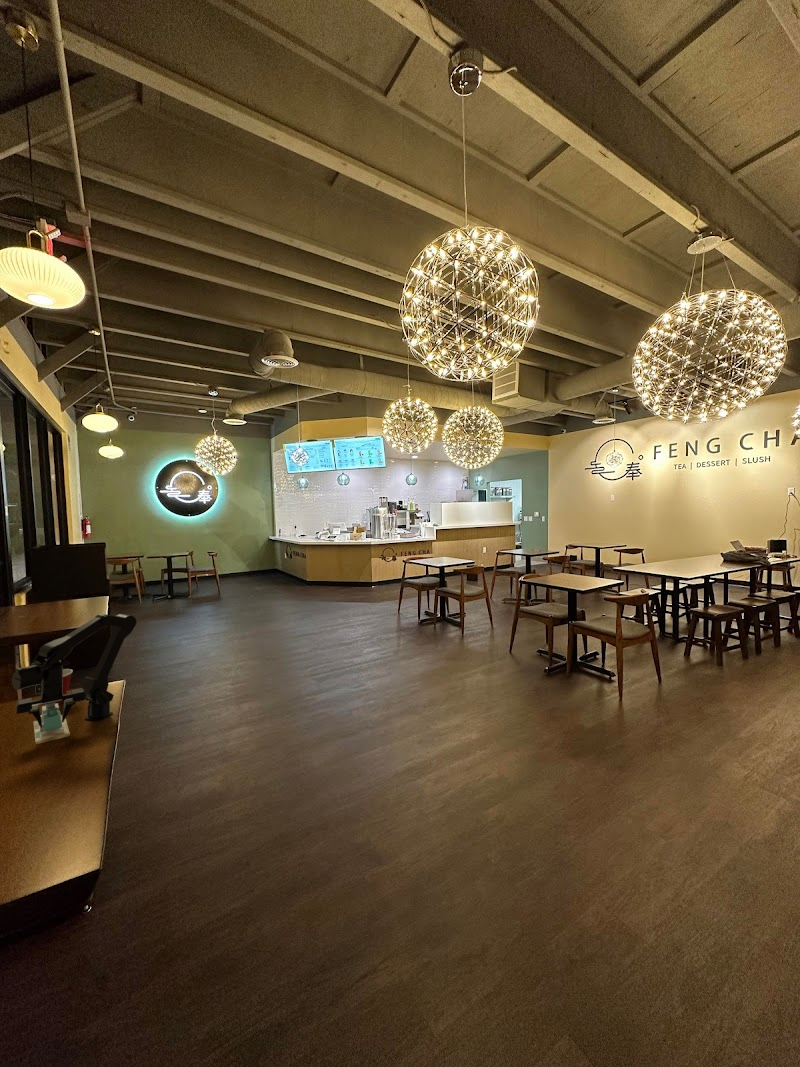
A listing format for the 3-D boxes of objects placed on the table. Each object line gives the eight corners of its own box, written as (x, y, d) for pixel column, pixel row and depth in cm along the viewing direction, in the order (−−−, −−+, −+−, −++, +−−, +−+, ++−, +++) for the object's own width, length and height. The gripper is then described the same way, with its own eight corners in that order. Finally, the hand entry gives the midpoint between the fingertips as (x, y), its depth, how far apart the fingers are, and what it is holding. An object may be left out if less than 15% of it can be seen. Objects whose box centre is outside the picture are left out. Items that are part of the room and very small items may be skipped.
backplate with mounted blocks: (64, 716, 164) (64, 709, 164) (69, 735, 150) (69, 728, 150) (33, 723, 158) (33, 716, 158) (35, 744, 144) (35, 736, 144)
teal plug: (59, 727, 154) (59, 705, 154) (60, 732, 151) (60, 709, 150) (43, 731, 151) (43, 708, 151) (44, 736, 148) (44, 712, 147)
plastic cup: (39, 700, 177) (39, 671, 177) (72, 694, 184) (73, 666, 183) (37, 710, 169) (37, 679, 168) (72, 703, 175) (72, 674, 175)
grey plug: (57, 719, 160) (57, 697, 160) (58, 723, 157) (59, 701, 156) (41, 722, 157) (42, 701, 157) (42, 727, 154) (43, 705, 153)
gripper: (82, 668, 163) (82, 709, 163) (16, 679, 150) (15, 723, 150) (86, 676, 154) (86, 720, 155) (16, 689, 142) (16, 736, 142)
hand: (52, 724), depth 151 cm, fingers open, 6 cm apart
